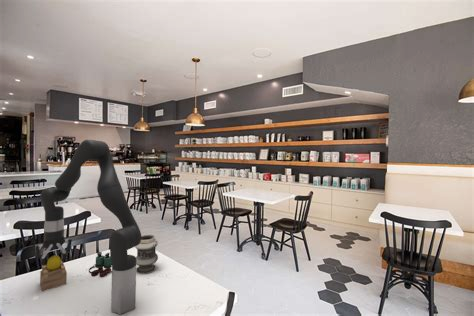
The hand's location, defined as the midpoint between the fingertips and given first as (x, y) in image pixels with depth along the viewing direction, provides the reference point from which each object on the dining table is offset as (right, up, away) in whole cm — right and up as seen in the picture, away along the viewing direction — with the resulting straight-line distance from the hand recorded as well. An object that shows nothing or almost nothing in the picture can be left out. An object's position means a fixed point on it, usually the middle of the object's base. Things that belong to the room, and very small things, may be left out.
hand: (53, 262), depth 111 cm
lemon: (0, -4, 0) cm, 4 cm away
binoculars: (+17, -11, +10) cm, 22 cm away
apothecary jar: (+38, -11, +17) cm, 43 cm away
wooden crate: (0, -10, 0) cm, 10 cm away
